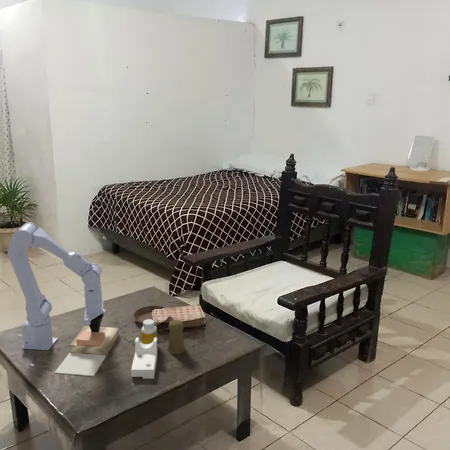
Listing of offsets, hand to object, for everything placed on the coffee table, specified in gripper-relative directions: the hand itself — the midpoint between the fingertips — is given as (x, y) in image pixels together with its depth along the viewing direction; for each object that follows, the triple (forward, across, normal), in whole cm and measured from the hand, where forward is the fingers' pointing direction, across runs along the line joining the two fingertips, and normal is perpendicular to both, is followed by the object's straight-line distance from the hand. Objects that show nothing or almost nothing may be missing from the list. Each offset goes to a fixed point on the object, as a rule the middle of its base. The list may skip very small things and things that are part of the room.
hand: (95, 333), depth 176 cm
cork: (+4, -1, -30) cm, 30 cm away
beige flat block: (+4, -1, 0) cm, 4 cm away
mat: (+4, -14, 0) cm, 15 cm away
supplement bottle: (+4, 0, -20) cm, 20 cm away
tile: (0, -4, 0) cm, 4 cm away
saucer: (+4, +20, -16) cm, 26 cm away
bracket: (+4, -13, -21) cm, 25 cm away
